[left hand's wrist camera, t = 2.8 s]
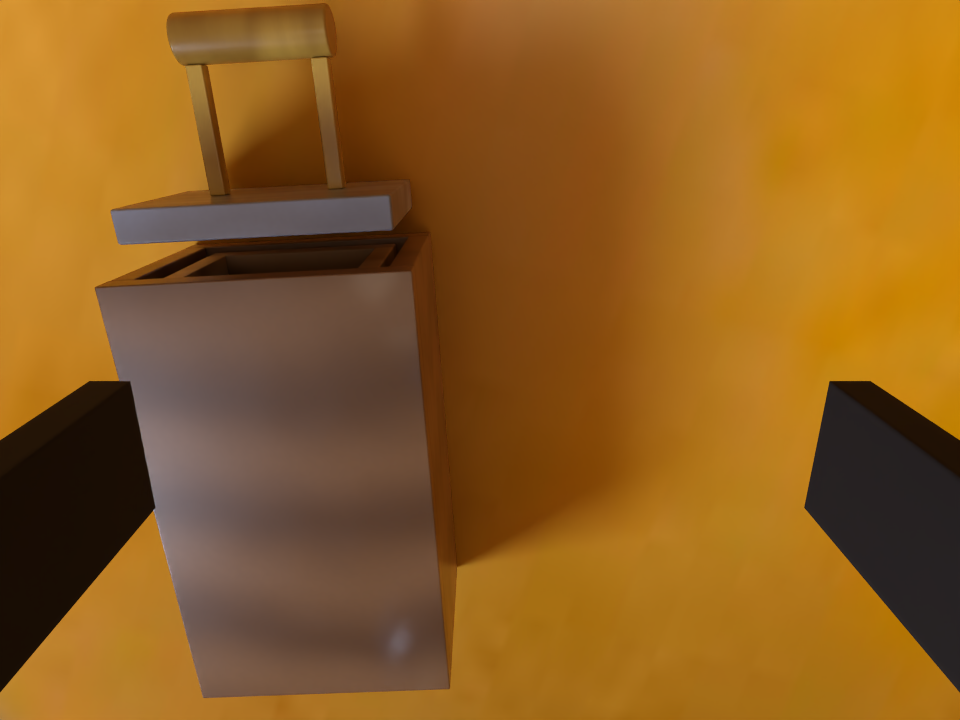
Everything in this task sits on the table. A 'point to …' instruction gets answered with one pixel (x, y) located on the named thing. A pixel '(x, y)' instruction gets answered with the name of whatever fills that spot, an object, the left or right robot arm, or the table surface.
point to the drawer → (265, 207)
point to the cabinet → (297, 465)
